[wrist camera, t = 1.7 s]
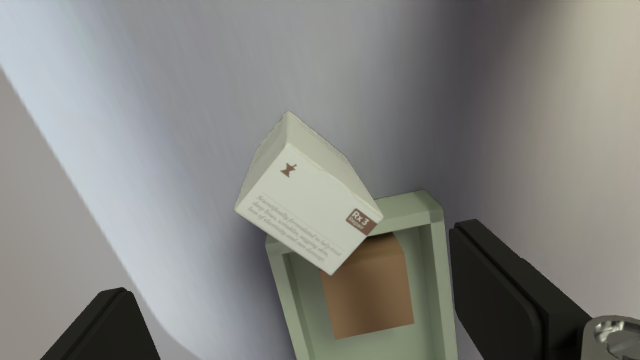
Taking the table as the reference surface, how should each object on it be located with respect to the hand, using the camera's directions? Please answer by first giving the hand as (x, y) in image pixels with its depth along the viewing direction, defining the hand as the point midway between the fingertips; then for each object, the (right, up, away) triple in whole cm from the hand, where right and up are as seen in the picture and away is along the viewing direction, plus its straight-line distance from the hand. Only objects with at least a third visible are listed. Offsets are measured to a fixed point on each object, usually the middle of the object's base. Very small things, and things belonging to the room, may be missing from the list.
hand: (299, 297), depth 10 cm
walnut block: (+4, -4, +20) cm, 21 cm away
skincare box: (-1, +5, +18) cm, 19 cm away
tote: (+5, -8, +22) cm, 24 cm away
